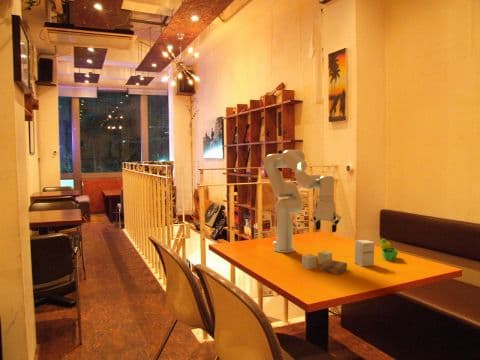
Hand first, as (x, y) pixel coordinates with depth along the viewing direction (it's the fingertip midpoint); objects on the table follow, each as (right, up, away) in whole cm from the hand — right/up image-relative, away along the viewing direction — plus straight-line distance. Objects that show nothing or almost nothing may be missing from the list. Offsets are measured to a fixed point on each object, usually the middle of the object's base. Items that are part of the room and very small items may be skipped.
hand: (325, 230), depth 203 cm
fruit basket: (+38, -18, +12) cm, 43 cm away
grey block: (-10, -18, -6) cm, 22 cm away
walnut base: (+1, -19, -11) cm, 22 cm away
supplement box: (+20, -18, 0) cm, 27 cm away
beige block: (0, -18, +1) cm, 18 cm away
